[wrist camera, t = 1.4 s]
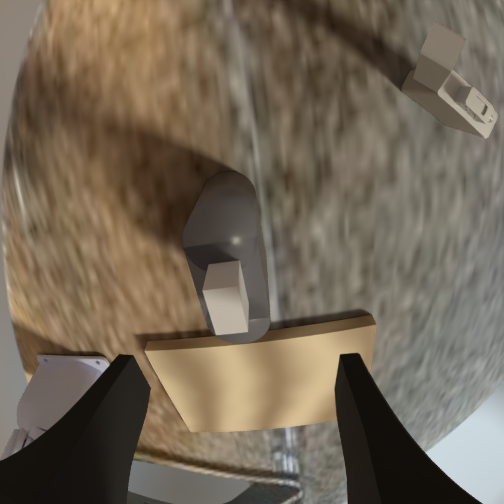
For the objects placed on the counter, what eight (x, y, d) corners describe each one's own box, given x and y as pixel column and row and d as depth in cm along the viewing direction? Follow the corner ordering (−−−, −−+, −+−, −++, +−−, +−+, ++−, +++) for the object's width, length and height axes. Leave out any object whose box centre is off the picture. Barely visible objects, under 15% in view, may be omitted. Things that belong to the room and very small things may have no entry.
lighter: (457, 106, 15) (545, 128, 8) (447, 127, 16) (532, 158, 9) (370, 40, 14) (443, 17, 7) (358, 63, 15) (427, 50, 8)
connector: (222, 283, 22) (210, 374, 15) (197, 176, 18) (161, 234, 11) (269, 277, 22) (276, 368, 14) (251, 167, 18) (249, 220, 11)
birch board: (192, 423, 31) (191, 432, 30) (147, 340, 25) (144, 351, 23) (359, 406, 29) (362, 415, 28) (371, 314, 23) (376, 324, 22)
